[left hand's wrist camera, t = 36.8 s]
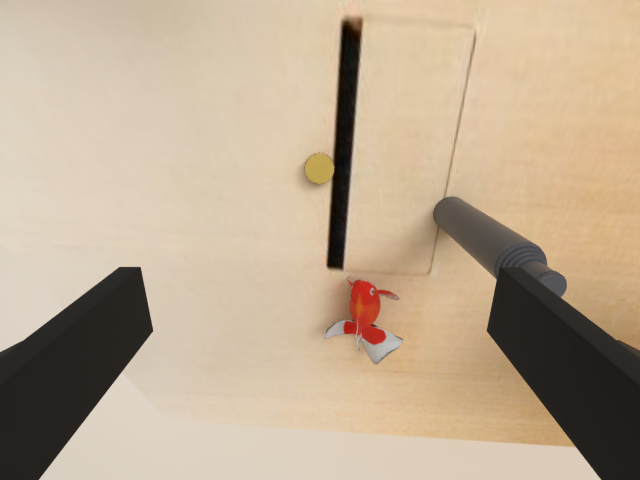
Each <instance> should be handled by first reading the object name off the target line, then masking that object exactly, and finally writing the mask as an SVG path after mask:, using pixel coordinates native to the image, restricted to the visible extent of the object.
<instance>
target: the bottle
mask: <svg viewBox="0 0 640 480" xmlns="http://www.w3.org/2000/svg"><path fill="white" fill-rule="evenodd" d="M434 219H435V221H436V223H437V224H438V225H439V226H440V227H441V228H442V229H443V230H444V231H445V232H446V233H448V234H449V235H450V236H451V237H452V238H453V239H454V240H455V241H456V242H457V243H458V244H459V245H460V246H461V247H463V248H464V249H465V250H466V251H467V252H468V253H469V254H470V255H471V256H472V257H473V258H474V259H475V260H476V261H477V262H479V263H480V264H481V265H482V266H483V267H484V268H485V269H486V270H487V271H488V272H489V273H490V274H491V275H492V276H494V277H495V278H496V279H497V277H498V272H499V267H521V268H522V269H524V270H525V271H526V272H527V273H529V274H530V275H531V276H533V277H534V278H535V279H537V280H538V281H539V282H541V283H542V284H543V285H545V286H546V287H547V288H548V289H550V290H551V291H552V292H554V293H555V294H556V295H558V296H559V297H561V296H562V295H563V294H564V293H565V291H566V287H567V284H566V279H565V277H564V276H563V275H561V274H560V273H558V272H556V271H553V270H552V269H550V268H549V267H547V260H546V256H545V254H544V252H543V251H542V250H541V248H540V247H539V246H537V245H536V244H534V243H532V242H531V241H529V240H527V239H526V238H524V237H522V236H521V235H519V234H518V233H516V232H514V231H513V230H511V229H509V228H508V227H506V226H504V225H503V224H501V223H499V222H498V221H496V220H494V219H493V218H491V217H489V216H488V215H486V214H484V213H483V212H481V211H479V210H478V209H476V208H474V207H473V206H471V205H469V204H468V203H466V202H465V201H463V200H461V199H460V198H457V197H447V198H444V199H443V200H441V201H440V202H439V203H438V204H437V205H436V207H435V209H434Z"/></svg>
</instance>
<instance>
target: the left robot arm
mask: <svg viewBox="0 0 640 480" xmlns="http://www.w3.org/2000/svg"><path fill="white" fill-rule="evenodd" d="M152 332H153V327H152V322H151V317H150V312H149V307H148V302H147V297H146V292H145V287H144V282H143V277H142V272H141V267H119V268H118V269H116V270H115V271H114V272H113V273H111V274H110V275H109V276H107V277H106V278H105V279H103V280H102V281H101V282H99V283H98V284H97V285H95V286H94V287H93V288H92V289H90V290H89V291H88V292H86V293H85V294H84V295H82V296H81V297H80V298H78V299H77V300H76V301H75V302H73V303H72V304H71V305H69V306H68V307H67V308H65V309H64V310H63V311H61V312H60V313H59V314H58V315H56V316H55V317H54V318H52V319H51V320H50V321H48V322H47V323H46V324H44V325H43V326H42V327H40V328H39V329H38V330H37V331H35V332H34V333H33V334H31V335H30V336H29V337H27V338H26V339H25V340H23V341H21V342H19V343H17V344H15V345H13V346H11V347H10V348H8V349H6V350H4V351H2V352H0V480H39V479H40V477H41V476H42V475H43V473H44V472H45V471H46V470H47V468H48V467H49V466H50V464H51V463H52V462H53V461H54V459H55V458H56V457H57V455H58V454H59V453H60V451H61V450H62V449H63V448H64V446H65V445H66V444H67V442H68V441H69V440H70V438H71V437H72V436H73V435H74V433H75V432H76V431H77V429H78V428H79V427H80V425H81V424H82V423H83V422H84V420H85V419H86V418H87V416H88V415H89V414H90V412H91V411H92V410H93V409H94V407H95V406H96V405H97V403H98V402H99V401H100V399H101V398H102V397H103V395H104V394H105V393H106V392H107V390H108V389H109V388H110V386H111V385H112V384H113V383H114V381H115V380H116V379H117V377H118V376H119V375H120V373H121V372H122V371H123V370H124V368H125V367H126V366H127V364H128V363H129V362H130V360H131V359H132V358H133V357H134V355H135V354H136V353H137V351H138V350H139V349H140V347H141V346H142V345H143V344H144V342H145V341H146V340H147V338H148V337H149V336H150V334H151V333H152ZM487 332H488V333H489V334H490V336H491V337H492V338H493V340H494V341H495V342H496V344H497V345H498V346H499V347H500V349H501V350H502V351H503V353H504V354H505V355H506V357H507V358H508V359H509V360H510V362H511V363H512V364H513V366H514V367H515V368H516V370H517V371H518V372H519V373H520V375H521V376H522V377H523V379H524V380H525V381H526V383H527V384H528V385H529V386H530V388H531V389H532V390H533V392H534V393H535V394H536V396H537V397H538V398H539V399H540V401H541V402H542V403H543V405H544V406H545V407H546V409H547V410H548V411H549V412H550V414H551V415H552V416H553V418H554V419H555V420H556V422H557V423H558V424H559V425H560V427H561V428H562V429H563V431H564V432H565V433H566V435H567V436H568V437H569V438H570V440H571V441H572V442H573V444H574V445H575V446H576V448H577V449H578V450H579V451H580V453H581V454H582V455H583V457H584V458H585V459H586V461H587V462H588V463H589V464H590V466H591V467H592V468H593V470H594V471H595V472H596V474H597V475H598V476H599V477H600V479H601V480H640V351H639V350H637V349H635V348H633V347H631V346H630V345H628V344H626V343H624V342H622V341H620V340H615V339H614V338H613V337H611V336H610V335H609V334H607V333H606V332H605V331H603V330H602V329H601V328H600V327H598V326H597V325H596V324H594V323H593V322H592V321H590V320H589V319H588V318H586V317H585V316H584V315H583V314H581V313H580V312H579V311H577V310H576V309H575V308H573V307H572V306H571V305H569V304H568V303H567V302H565V301H564V300H563V299H562V298H560V297H559V296H558V295H556V294H555V293H554V292H552V291H551V290H550V289H548V288H547V287H546V286H545V285H543V284H542V283H541V282H539V281H538V280H537V279H535V278H534V277H533V276H531V275H530V274H529V273H527V272H526V271H525V270H524V269H522V268H521V267H499V272H498V277H497V282H496V287H495V292H494V297H493V302H492V307H491V312H490V317H489V322H488V327H487Z"/></svg>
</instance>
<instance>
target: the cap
mask: <svg viewBox="0 0 640 480" xmlns="http://www.w3.org/2000/svg"><path fill="white" fill-rule="evenodd" d="M305 173H306V175H307V177H308V179H309V180H310V181H312V182H314V183H317V184H323V183H326V182H327V181H329V180H330V179H331V177H332V176H333V173H334V165H333V161H332V160H331V158H330V157H329V156H328V155H326V154H324V153H320V152H319V153H315V154H313V155H311V156H310V157H309V158H308V160H307V162H306V166H305Z"/></svg>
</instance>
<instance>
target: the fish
mask: <svg viewBox="0 0 640 480" xmlns="http://www.w3.org/2000/svg"><path fill="white" fill-rule="evenodd" d="M348 278H349V277H348ZM348 278H347V281H348V284H349V286H350V288H351V292H352V293H351V301H350V312H351V315H352V318H353V320H344V321H340V322H336V323H334V324H333V325H332V326H331V327H330V328H329V329H327V331H326V334H325V337H324V339H325V338H328V337H331V336H335V335H340V334H352V335H355V337H356V343H357V346H358V350H359V340H361V342H362V343H363V345H364V347H365V349H366V351H367V354H368V356H369V357H370V359H371V361H372V362H373V363H374V364H378V363H379V362H380V361H381V360H382V359H383V358H384V357H386V356H387V355H388V354H389V353H391V352H392V351H394V350H395V349H397V348H399V346H400V345H401V343H402V342H403V339H402V338H399V337H397V336H395V335H393V334H391V333H389V332H387V331H385V330H383V329H381V328H379V327H377V326H375V325H373V324H372V323H373V322H374V321H375V320H376V318H377V316H378V314H379V311H380V298H379V295H384V296H387V297H389V298H391V299H396V300H398V299H399V298H398V296H397V295H395V294H393V293H391V292H390V291H386V290H377V289H376V287H375V286H374V285H373V284H372V283H371V282H370V281H368V280H365V279H359V280H356V281H355V282H354V284H352V283H351V282H350V281H349V280H348Z"/></svg>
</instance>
